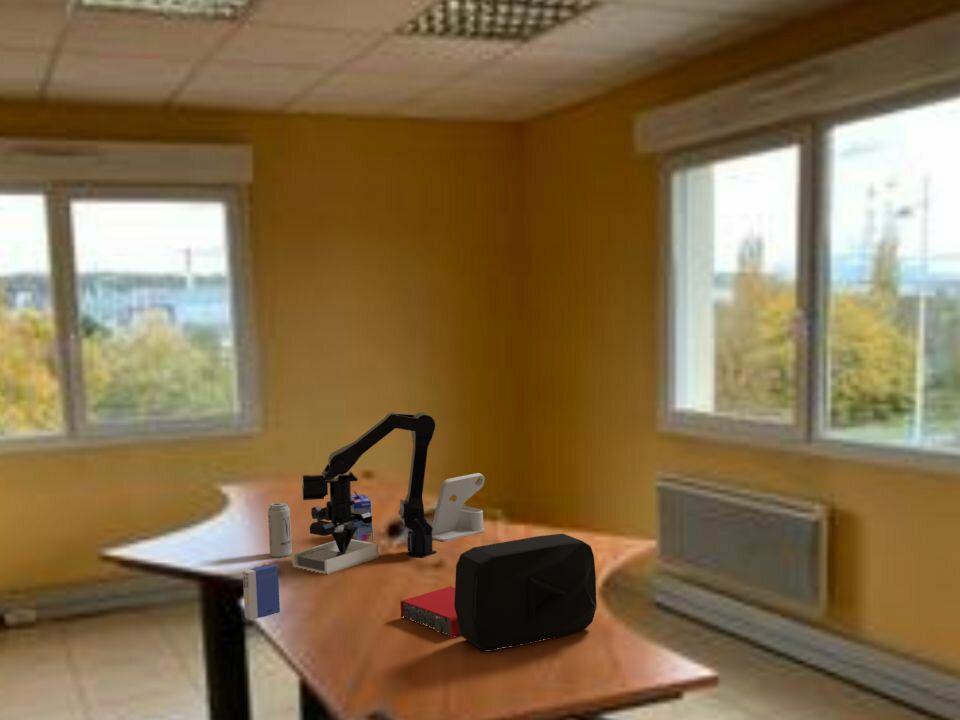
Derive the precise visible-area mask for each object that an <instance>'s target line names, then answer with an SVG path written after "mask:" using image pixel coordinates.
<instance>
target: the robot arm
mask: <svg viewBox="0 0 960 720" xmlns="http://www.w3.org/2000/svg"><path fill="white" fill-rule="evenodd" d="M395 429H399V430H405V431H411V439H412V452H411V461H410V469H409V470H410V471H409V478H408V479H409V480H408V487H407V488H408V489H407V495H406V497H405V499H399V505H400V506H399V507H400V508H399V510H398V515H399V516H400V520H401V521H402V523H403V525H404V526H405V527H406V528H407V529H408V530H409V531H407V537H406V538H407V551H406V552H404V555H406V556H410V557H415V558H421V559H422V558H426V557H428V556H431V555H434V554H436V553H437V550H434V549H433V539H432V529H433V528H432V524H430V523H429V522H428V520H427V519H425V508H424V501H423V500H424V499H423V493H424V484H425V477H426V476H425V475H426V467H427V457H428V449H429V447H430V443H431V441H432V439H433V436H434V434H435V429H436V422H435V419H433V417H432V416H431V415H429V414H427V413H426V412H417V413H416V414H410V413H409V414H408V413H395V412H389V413H388V414H386V415H385V417H384V418H382V419H381V420H379V422H377V423H376V424H374V425H373V426H372V427H371V428H370V429H368V430H367V431H366V432H365V433H363V434H362V435H361V436H359V437H358V438H357V439H355V440H354V441H353V442H351V443H349V444H347V445H345V446H342V447H340V448H339V449H336V450H334V451H333V452H331V453H330V454H329V456H328V459H327V465H326V466H325V467H324V469H323V470H322V472H321V474H303V475H302V485H301V491H302V493H301V494H302V501H312V500H324V499H325V497H327V496H328V495H329V501H326V504H325V505H326V507H325V506H324V507H321V506H320V505H317V506H313V507H311V511H310V512H311V513H310V514H311V518H312V519H313V520H316V521H315V522H312V523H311V524H310V525H309V533H310V534H311V535H317V536H322V537H326V536H330V535H331V536H332V537H333V539H334V541H336V544H337V546H338V549H339V551H340V552H342V553H345V552H346V550H347V548H348V545H349V543H350V541H351V539H353V535H354V533H355V531H356V530H357V529H358V527H354V523H355V522H358V521H362V522H363V523H364V524H368V523H371V522H372V523H373V514H372V515H371V514H370V512H366V511H360V510H358V511H354V512H352V507H351V505H354V504H355V502H354V501H353V500H351V495H352V485H351V484H352V483H351V482H357V481H358V480H359V479H358V477H357V476H356V475H354V474H353V472H352V471H350V470H351V469H352V468H353V467H354V466H355V465H356V463H357V462H358V460H359V459H360V458H361V456H362V455H364V454H365V452H367V451H368V450H370V449H371V448H372V447H374V446H375V445H376V444H378V443H379V442H380V441H381V440H383V439H384V438H385V437H387V436H388V435H389V434H390V433H391V432H393V431H394V430H395ZM328 484H329V487H328ZM328 489H329V490H328Z"/></svg>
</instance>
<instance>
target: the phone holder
mask: <svg viewBox="0 0 960 720" xmlns="http://www.w3.org/2000/svg"><path fill="white" fill-rule="evenodd" d="M477 481H478V482H477ZM485 481H486V477H485V476H484V475H483V474H482V473H480V472H477V473H476V472H475V473H471V474H465V475H460V476H456V477H450V478H447V479H444V481H442V483H441V485H440V489H439V493H438V498H437V503H436V505H435V506H436V507H435V511H434V517H433V521H432V524H431V527H432V528H433V529H432V540H436V541H438V542H439V541H440V542H449V541H453V540H457V539H462V538H464V537H469V536H473V535H476V534H480V533H484V532H485V528H484V510H483V509H481V508H476V507H471V506H463V505H464V504H465V503H466V502H467V501H468V500H470V498H471V497H473V496H474V495H475V494H476V493H477V492H478V491H479V490H480V489H482V488H483V486H484V484H485ZM476 482H477V483H476ZM452 496H456V497H455V499H453V501H452V502H450V499H451V498H452Z"/></svg>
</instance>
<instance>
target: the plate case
mask: <svg viewBox="0 0 960 720" xmlns="http://www.w3.org/2000/svg"><path fill="white" fill-rule="evenodd" d="M322 548H323V549H327V550H332V551H337V552H340V551H339V549H338V546H337V544H336V541H335V540H333V541H330V542H326V543H323V544H319V545H317V546H314V547H310V548H308V549H307V548H306V549H304V550H301V551H297V552H295V553H291V554H292V555H291V556H292V557H291V558H292V559H291V560H292V567H293V566H295V567H294V568H296V567H299V568H298V569H300V568H303V569H302V570H304V569H307V570H306V571H309V570H311V571H310V572H313V571H315V572H314V573H317V572H319V573H318V574H321V573H325V574H324V575H326V574H328V575H330V574H329V573H331V574H333V573H332V572H334V571H337V572H339V571H338V570H340V571H342V570H341V569H343V570H345V569H344V568H346V569H349V568H351V567H350V566H352V567H355V566H358V565H361V564H364V563H366V562H370V561H373V560H375V558H376V559H379V558H378V557H379V544H378V543H374V542H368V541H358V540H355V539H354V538H352V539H351V541H350V543H349V545H348V548H347V550H346V552H345V553H347V554H344V555H341V556H338V557H335V558H331V559H328V560H325V561H324V565H325V571H321V570H317V569H312V568H308V567H303V566H299V565H298V556H300V555H303V554H306V553H309V552H313V551H316V550H319V549H322ZM372 559H373V560H372ZM363 562H364V563H363ZM354 565H355V566H354ZM348 567H349V568H348ZM334 573H335V572H334Z"/></svg>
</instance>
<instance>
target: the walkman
mask: <svg viewBox="0 0 960 720" xmlns="http://www.w3.org/2000/svg"><path fill="white" fill-rule="evenodd" d="M242 580H243V582H242V584H243V586H242V587H243V601H244V602H243V603H244V606H243V607H244V618H245V619H246V620H248V621H254V620H256V619H257V620H258V619H261V618H264V617H268V616H271V615H276V614H279V613H280V612H281V610H280V609H281V606H280V584H279V583H280V582H279V566H278V565H277V564H274V563H269V562H268V563H263V565H260V566H256V567H252V568H248V569H247V568H246V569H244V570H242ZM278 612H279V613H278ZM275 613H276V614H275Z"/></svg>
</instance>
